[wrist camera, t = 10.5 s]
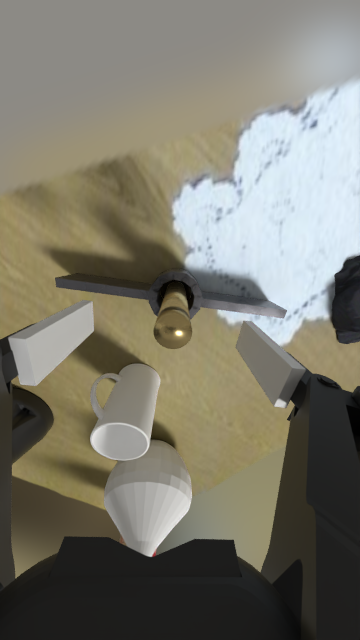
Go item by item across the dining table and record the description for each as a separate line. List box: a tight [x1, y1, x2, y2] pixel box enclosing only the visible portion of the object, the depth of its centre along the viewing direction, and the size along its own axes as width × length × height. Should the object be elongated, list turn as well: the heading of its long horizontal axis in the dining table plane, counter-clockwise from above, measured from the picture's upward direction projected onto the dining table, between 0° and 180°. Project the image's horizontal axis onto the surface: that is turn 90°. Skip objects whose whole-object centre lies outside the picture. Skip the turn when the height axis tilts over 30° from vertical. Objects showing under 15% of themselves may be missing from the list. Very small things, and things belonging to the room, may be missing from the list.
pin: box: [154, 282, 192, 349], centre depth 20 cm, size 3×3×15 cm
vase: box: [104, 439, 192, 557], centre depth 34 cm, size 18×18×19 cm
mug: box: [90, 364, 160, 460], centre depth 28 cm, size 12×8×12 cm
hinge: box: [55, 268, 287, 319], centre depth 24 cm, size 31×7×5 cm, turn 82°
